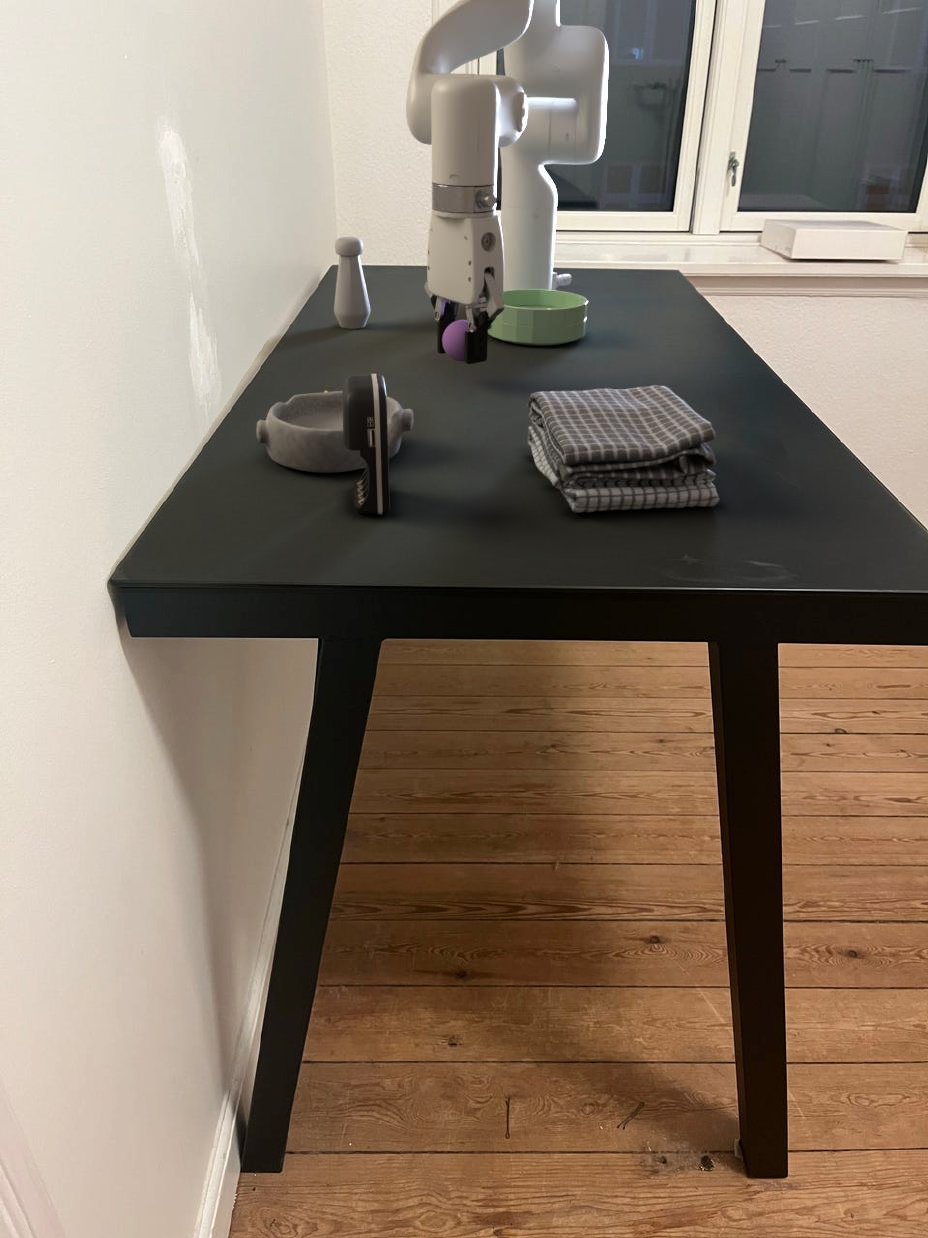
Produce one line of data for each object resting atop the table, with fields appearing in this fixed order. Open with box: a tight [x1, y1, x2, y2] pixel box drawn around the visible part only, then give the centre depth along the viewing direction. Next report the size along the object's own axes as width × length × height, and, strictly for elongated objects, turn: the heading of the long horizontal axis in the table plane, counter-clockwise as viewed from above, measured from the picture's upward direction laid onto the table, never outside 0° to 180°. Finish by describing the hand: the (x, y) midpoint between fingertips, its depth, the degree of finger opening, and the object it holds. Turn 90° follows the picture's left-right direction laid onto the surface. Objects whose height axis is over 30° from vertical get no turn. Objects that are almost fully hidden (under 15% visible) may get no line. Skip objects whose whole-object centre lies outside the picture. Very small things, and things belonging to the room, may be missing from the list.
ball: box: [442, 319, 469, 362], centre depth 115 cm, size 5×5×5 cm
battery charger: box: [342, 373, 391, 516], centre depth 81 cm, size 7×4×11 cm, turn 7°
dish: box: [255, 390, 414, 474], centre depth 94 cm, size 14×14×5 cm
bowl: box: [488, 289, 589, 346], centre depth 140 cm, size 15×15×6 cm
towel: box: [526, 384, 720, 514], centre depth 89 cm, size 15×18×8 cm
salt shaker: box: [333, 236, 372, 330], centre depth 142 cm, size 6×6×13 cm
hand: (461, 355), depth 116 cm, fingers closed on ball, 4 cm apart
